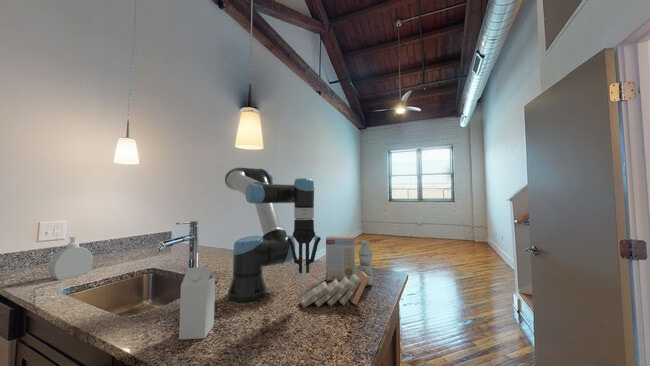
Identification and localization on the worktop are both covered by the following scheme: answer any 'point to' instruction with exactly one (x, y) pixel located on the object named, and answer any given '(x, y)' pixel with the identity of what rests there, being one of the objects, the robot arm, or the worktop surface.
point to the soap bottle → (70, 261)
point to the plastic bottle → (366, 261)
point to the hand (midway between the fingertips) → (303, 281)
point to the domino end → (359, 288)
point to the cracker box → (340, 257)
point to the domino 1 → (314, 294)
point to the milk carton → (197, 303)
